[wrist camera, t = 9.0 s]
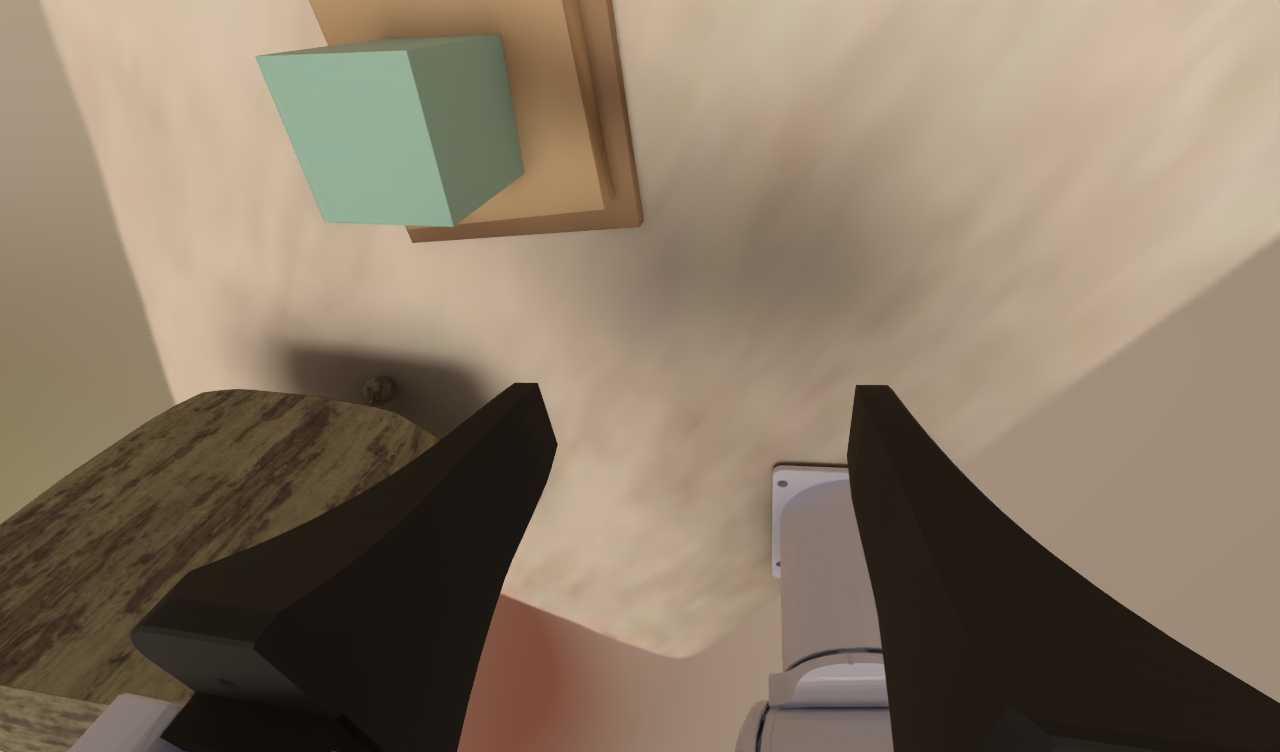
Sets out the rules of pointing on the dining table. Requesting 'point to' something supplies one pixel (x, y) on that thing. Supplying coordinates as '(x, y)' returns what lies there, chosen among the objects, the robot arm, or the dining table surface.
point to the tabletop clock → (166, 538)
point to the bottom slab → (616, 138)
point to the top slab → (511, 90)
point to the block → (399, 126)
